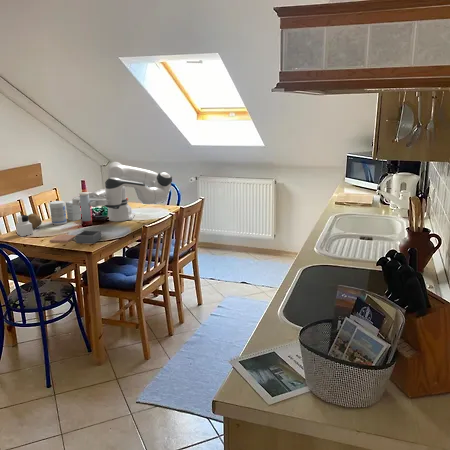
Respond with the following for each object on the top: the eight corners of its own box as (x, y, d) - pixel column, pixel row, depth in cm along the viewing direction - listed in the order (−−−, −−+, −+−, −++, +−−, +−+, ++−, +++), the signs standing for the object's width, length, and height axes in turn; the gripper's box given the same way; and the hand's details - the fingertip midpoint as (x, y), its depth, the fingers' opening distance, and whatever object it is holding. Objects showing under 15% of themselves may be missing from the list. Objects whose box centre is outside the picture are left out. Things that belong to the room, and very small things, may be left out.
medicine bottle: (28, 232, 276) (26, 213, 272) (33, 234, 271) (30, 215, 267) (17, 234, 271) (14, 215, 268) (21, 236, 266) (18, 217, 263)
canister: (84, 218, 257) (81, 192, 253) (92, 219, 256) (90, 192, 252) (80, 221, 252) (77, 193, 248) (88, 221, 251) (86, 194, 247)
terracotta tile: (59, 236, 266) (59, 234, 266) (76, 237, 264) (76, 235, 264) (50, 241, 255) (49, 240, 255) (67, 242, 254) (67, 240, 254)
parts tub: (84, 237, 263) (83, 230, 262) (101, 238, 262) (100, 231, 261) (76, 242, 253) (75, 235, 252) (93, 243, 252) (93, 236, 251)
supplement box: (76, 217, 311) (74, 200, 308) (82, 218, 307) (80, 201, 303) (67, 219, 305) (65, 201, 302) (73, 221, 301) (71, 203, 298)
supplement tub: (68, 224, 294) (66, 202, 290) (53, 226, 289) (51, 204, 285) (64, 220, 302) (62, 200, 298) (50, 223, 297) (47, 201, 293)
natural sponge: (23, 229, 281) (21, 214, 278) (33, 226, 289) (31, 211, 286) (34, 231, 278) (32, 215, 275) (44, 227, 286) (42, 212, 283)
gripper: (111, 204, 263) (102, 210, 250) (79, 204, 266) (68, 209, 253) (110, 194, 262) (101, 199, 249) (78, 193, 265) (67, 198, 251)
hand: (84, 204), depth 251 cm, fingers closed on canister, 5 cm apart
